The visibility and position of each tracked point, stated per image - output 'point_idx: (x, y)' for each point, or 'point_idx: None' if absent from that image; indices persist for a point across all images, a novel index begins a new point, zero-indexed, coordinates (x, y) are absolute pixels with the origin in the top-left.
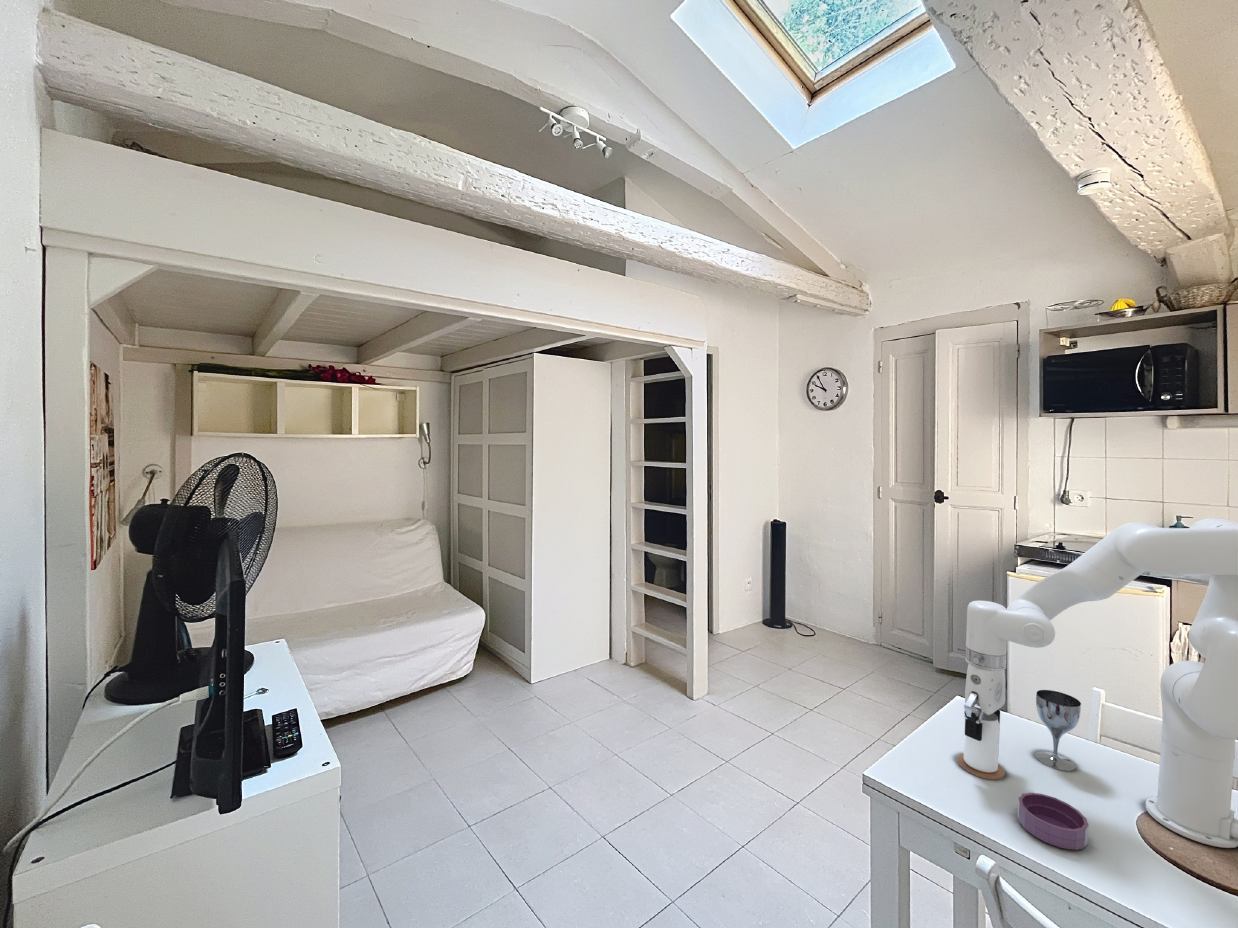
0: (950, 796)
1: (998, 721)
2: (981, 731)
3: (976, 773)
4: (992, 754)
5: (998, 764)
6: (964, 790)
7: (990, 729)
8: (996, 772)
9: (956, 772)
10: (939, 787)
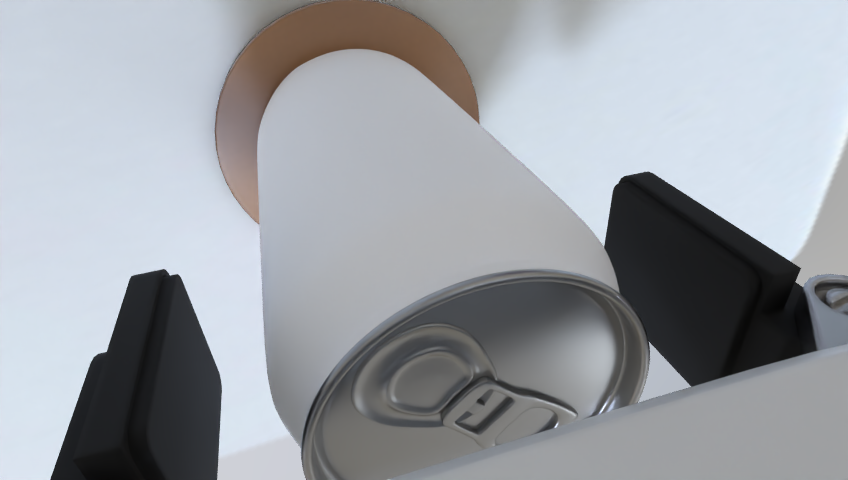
0: (751, 58)
1: (154, 313)
2: (714, 215)
3: (469, 102)
4: (434, 92)
5: (225, 93)
6: (659, 50)
7: (569, 208)
8: (343, 46)
9: (528, 162)
10: (712, 124)
